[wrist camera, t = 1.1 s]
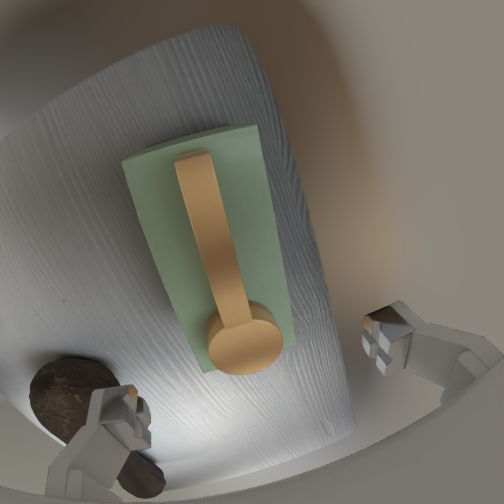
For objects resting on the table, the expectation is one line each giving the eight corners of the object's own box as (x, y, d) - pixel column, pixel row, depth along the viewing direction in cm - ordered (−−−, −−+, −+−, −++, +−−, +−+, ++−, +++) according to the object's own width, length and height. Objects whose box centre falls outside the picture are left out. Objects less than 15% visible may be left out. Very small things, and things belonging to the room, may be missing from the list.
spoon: (146, 165, 14) (139, 172, 11) (236, 140, 14) (245, 143, 12) (215, 362, 20) (220, 387, 18) (279, 343, 20) (290, 367, 18)
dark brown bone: (58, 333, 27) (134, 438, 42) (5, 399, 18) (109, 483, 33) (132, 365, 24) (189, 460, 39) (75, 455, 16) (166, 510, 31)
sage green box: (142, 148, 20) (120, 161, 13) (232, 124, 21) (257, 124, 14) (195, 310, 27) (203, 373, 20) (267, 289, 28) (296, 345, 21)
